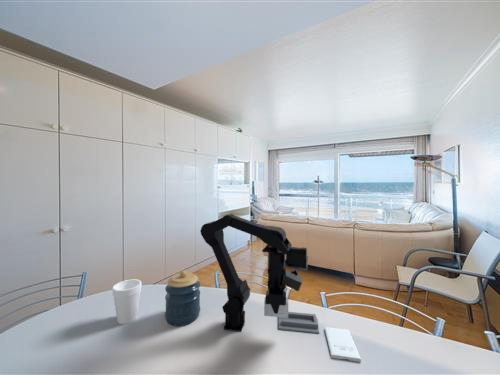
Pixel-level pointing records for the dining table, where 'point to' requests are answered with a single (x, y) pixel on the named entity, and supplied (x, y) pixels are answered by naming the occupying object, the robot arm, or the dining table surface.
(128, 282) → the foam cup
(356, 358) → the external hard drive
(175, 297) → the canister
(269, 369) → the dining table surface
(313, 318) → the dock
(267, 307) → the block
